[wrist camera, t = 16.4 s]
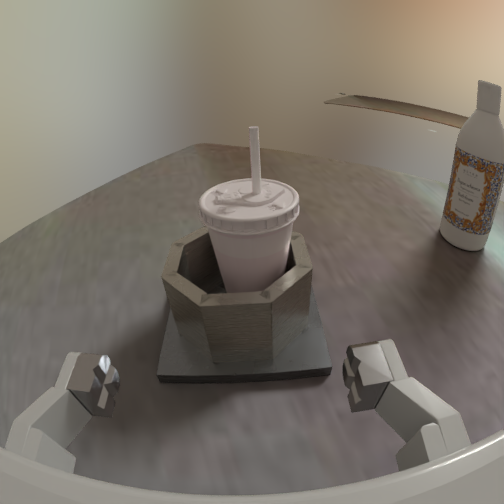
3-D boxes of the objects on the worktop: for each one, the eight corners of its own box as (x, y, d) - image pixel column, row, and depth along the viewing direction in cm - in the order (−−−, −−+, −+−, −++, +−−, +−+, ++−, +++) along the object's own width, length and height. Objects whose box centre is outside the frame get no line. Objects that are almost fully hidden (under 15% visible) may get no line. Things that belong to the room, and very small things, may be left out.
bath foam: (429, 233, 34) (452, 72, 23) (451, 219, 37) (473, 79, 26) (473, 259, 29) (510, 88, 18) (490, 241, 32) (521, 94, 21)
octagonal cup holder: (160, 382, 20) (130, 321, 17) (181, 277, 30) (168, 219, 26) (330, 374, 20) (344, 310, 16) (304, 270, 30) (307, 210, 26)
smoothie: (307, 327, 23) (319, 135, 15) (222, 346, 22) (190, 148, 14) (281, 276, 28) (279, 115, 20) (210, 290, 27) (186, 125, 19)
